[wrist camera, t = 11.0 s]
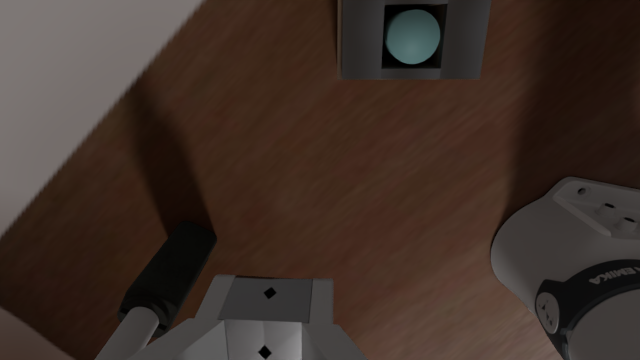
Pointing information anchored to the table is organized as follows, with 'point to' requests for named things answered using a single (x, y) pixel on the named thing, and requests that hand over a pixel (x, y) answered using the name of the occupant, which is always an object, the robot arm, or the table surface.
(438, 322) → the table surface
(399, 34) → the teal peg
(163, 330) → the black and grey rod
